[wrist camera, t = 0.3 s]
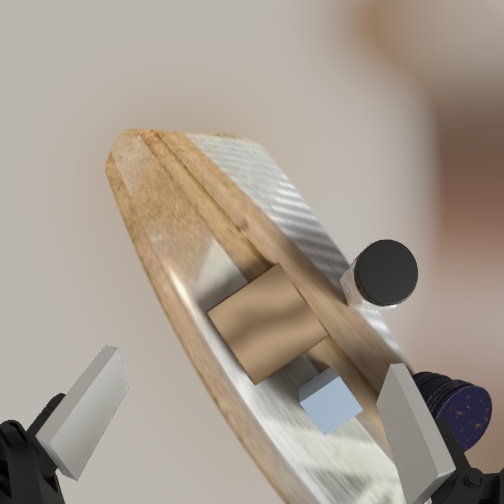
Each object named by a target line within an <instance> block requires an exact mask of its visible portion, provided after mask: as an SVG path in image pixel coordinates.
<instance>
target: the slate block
mask: <svg viewBox="0 0 504 504" xmlns="http://www.w3.org/2000/svg"><path fill="white" fill-rule="evenodd" d="M298 394H299V403H300V404H301V406H302V407H303V408H304V410H305V411H306V412H307V414H308V415H309V416H310V418H311V419H312V420H313V422H314V423H315V424H316V426H317V427H318V428H319V430H320V431H321V432H322V434H323V435H324V436H326V435H327V434H329V433H330V432H332V431H333V430H335V429H337V428H338V427H340V426H341V425H343V424H344V423H346V422H347V421H348V420H350V419H351V418H353V417H354V416H356V415H357V414H359V413H360V412H361V411H363V409H362V407H361V406H360V405H359V403H358V402H357V400H356V399H355V397H354V396H353V395H352V393H351V392H350V390H349V389H348V388H347V386H346V385H345V383H344V382H343V381H342V379H341V378H340V376H339V375H338V374H337V373H336V372H335V371H334V370H333V369H332V368H331V367H328V368H327V369H326V370H324V371H323V372H321V373H320V374H318V375H317V376H315V377H314V378H312V379H311V380H310V381H308V382H307V383H305V384H304V385H302V386H300V387H299V388H298Z"/></svg>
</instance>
